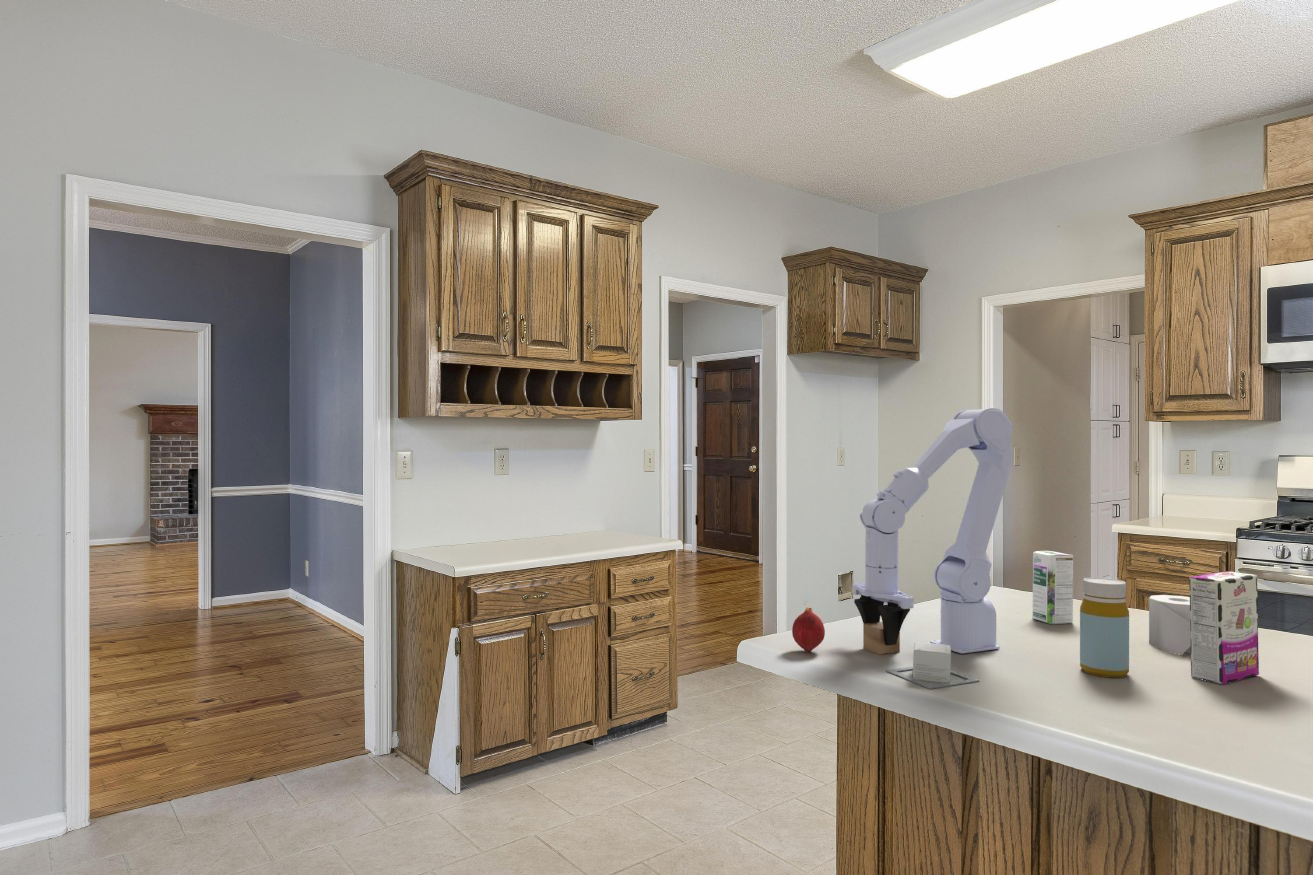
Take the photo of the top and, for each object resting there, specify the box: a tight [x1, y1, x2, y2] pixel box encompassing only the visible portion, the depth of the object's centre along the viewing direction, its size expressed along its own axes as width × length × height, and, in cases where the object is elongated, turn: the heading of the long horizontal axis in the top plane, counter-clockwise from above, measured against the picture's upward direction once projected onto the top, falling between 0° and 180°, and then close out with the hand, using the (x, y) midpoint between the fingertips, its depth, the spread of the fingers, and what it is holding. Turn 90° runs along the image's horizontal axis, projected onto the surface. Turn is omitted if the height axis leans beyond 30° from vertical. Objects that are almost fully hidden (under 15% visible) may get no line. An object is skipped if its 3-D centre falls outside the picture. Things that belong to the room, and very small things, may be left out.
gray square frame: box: [885, 666, 980, 690], centre depth 126 cm, size 10×10×1 cm
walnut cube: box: [862, 621, 901, 655], centre depth 142 cm, size 4×4×4 cm
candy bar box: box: [1188, 571, 1260, 685], centre depth 127 cm, size 11×5×16 cm, turn 118°
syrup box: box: [1031, 550, 1074, 625], centre depth 166 cm, size 6×6×14 cm
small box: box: [912, 641, 952, 684], centre depth 126 cm, size 6×6×5 cm
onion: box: [791, 606, 826, 653], centre depth 140 cm, size 6×6×8 cm
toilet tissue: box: [1148, 594, 1191, 656], centre depth 144 cm, size 9×13×9 cm
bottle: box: [1079, 577, 1130, 679], centre depth 129 cm, size 7×7×15 cm
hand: (881, 640), depth 142 cm, fingers closed on walnut cube, 4 cm apart
